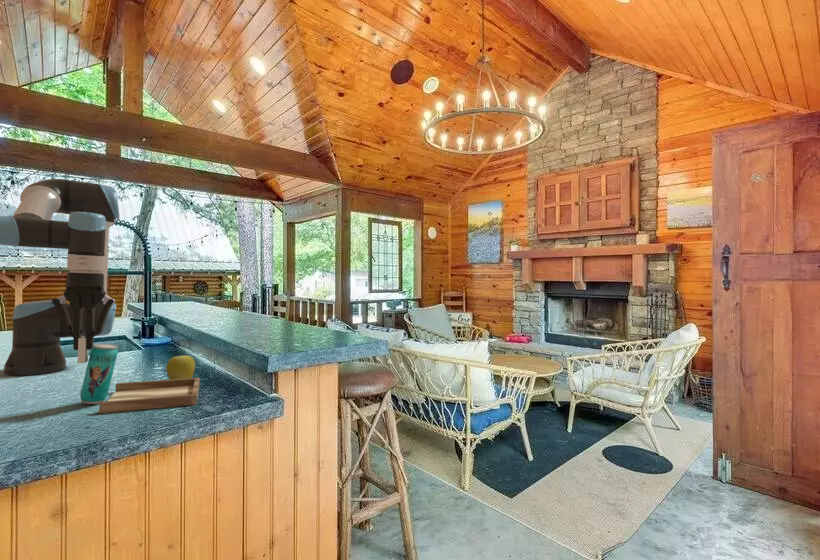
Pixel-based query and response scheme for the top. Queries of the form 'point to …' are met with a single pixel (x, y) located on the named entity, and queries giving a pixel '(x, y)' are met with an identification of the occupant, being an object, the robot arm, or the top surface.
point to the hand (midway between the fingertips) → (82, 362)
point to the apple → (180, 367)
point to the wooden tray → (152, 395)
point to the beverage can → (98, 373)
